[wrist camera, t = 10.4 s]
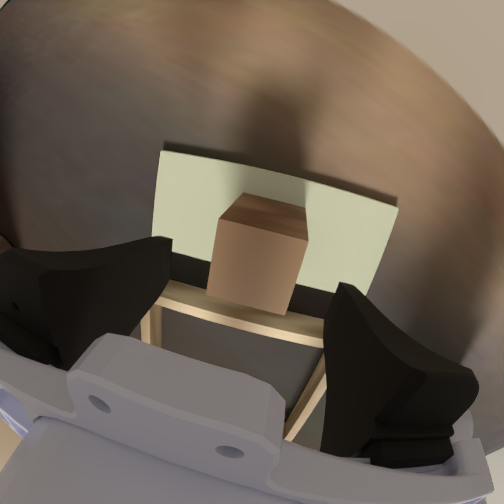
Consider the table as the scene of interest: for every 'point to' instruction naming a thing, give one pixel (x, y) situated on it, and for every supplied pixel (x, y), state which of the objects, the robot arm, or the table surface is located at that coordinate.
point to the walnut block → (258, 253)
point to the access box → (250, 320)
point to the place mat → (281, 189)
